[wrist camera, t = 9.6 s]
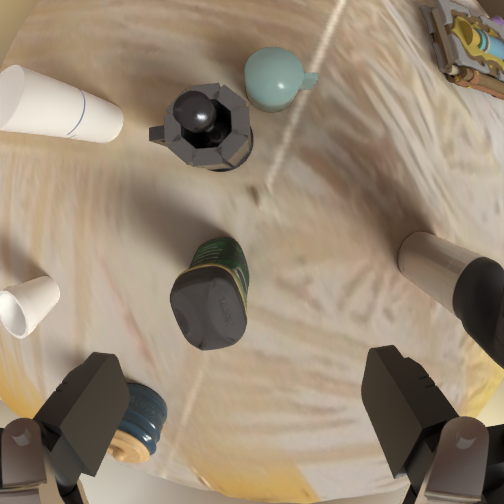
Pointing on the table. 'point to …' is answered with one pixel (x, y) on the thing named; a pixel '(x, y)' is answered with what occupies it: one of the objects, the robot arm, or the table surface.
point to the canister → (139, 426)
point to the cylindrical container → (54, 108)
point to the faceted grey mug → (191, 143)
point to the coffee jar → (213, 295)
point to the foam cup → (27, 304)
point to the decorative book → (468, 46)
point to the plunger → (200, 117)
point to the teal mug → (275, 79)
